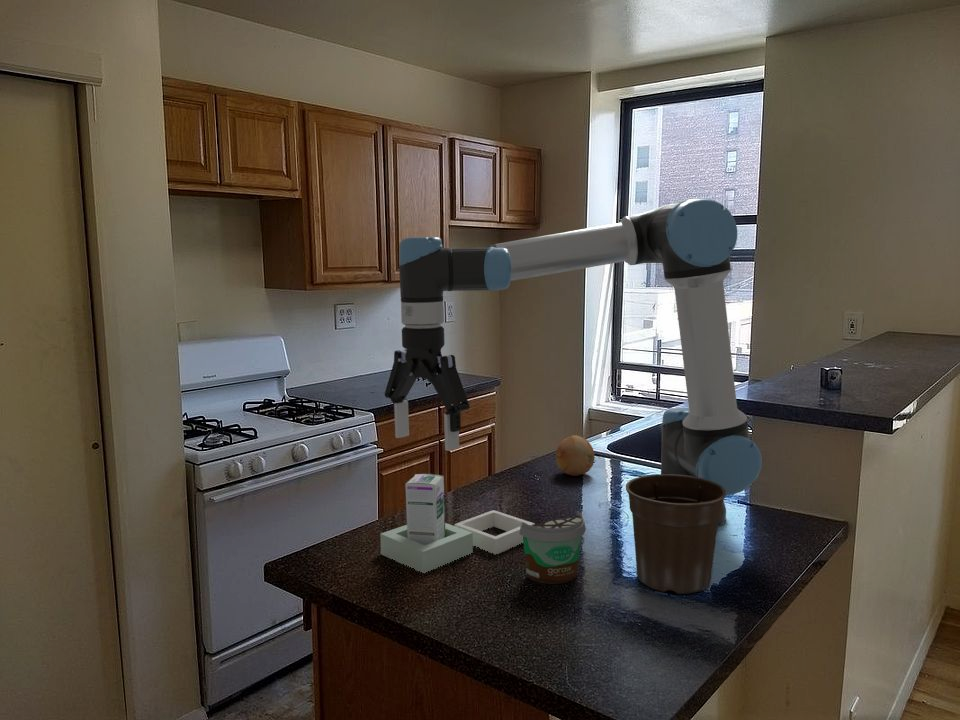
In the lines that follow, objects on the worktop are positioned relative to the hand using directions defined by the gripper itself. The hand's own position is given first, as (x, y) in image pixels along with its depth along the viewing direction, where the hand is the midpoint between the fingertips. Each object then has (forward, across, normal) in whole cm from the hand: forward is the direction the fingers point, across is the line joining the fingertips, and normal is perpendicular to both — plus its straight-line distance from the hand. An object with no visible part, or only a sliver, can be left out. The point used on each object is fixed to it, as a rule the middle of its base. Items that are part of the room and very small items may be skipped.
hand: (426, 442), depth 132 cm
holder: (+21, +4, +14) cm, 26 cm away
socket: (+21, 0, 0) cm, 21 cm away
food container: (+22, +24, +9) cm, 33 cm away
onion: (+22, -10, +58) cm, 62 cm away
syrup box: (+21, 0, 0) cm, 21 cm away
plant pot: (+22, +38, +22) cm, 49 cm away
